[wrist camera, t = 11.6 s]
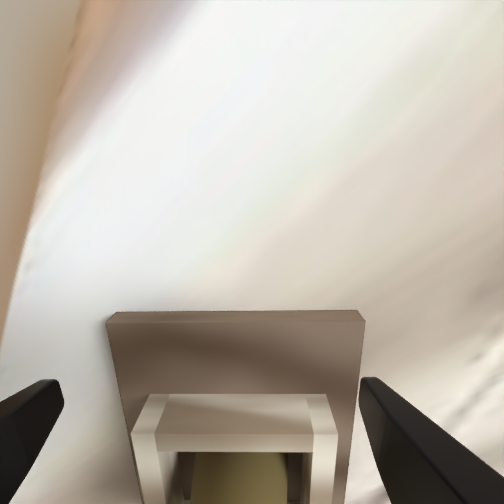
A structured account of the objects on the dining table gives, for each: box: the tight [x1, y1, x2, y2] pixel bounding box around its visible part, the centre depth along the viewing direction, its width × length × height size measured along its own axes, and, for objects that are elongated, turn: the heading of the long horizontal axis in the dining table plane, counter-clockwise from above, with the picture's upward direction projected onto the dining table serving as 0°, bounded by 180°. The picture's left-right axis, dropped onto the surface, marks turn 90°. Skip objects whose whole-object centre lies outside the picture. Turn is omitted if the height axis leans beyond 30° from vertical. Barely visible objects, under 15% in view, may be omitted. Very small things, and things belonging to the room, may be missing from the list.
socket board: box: [106, 310, 366, 504], centre depth 17 cm, size 20×14×4 cm
